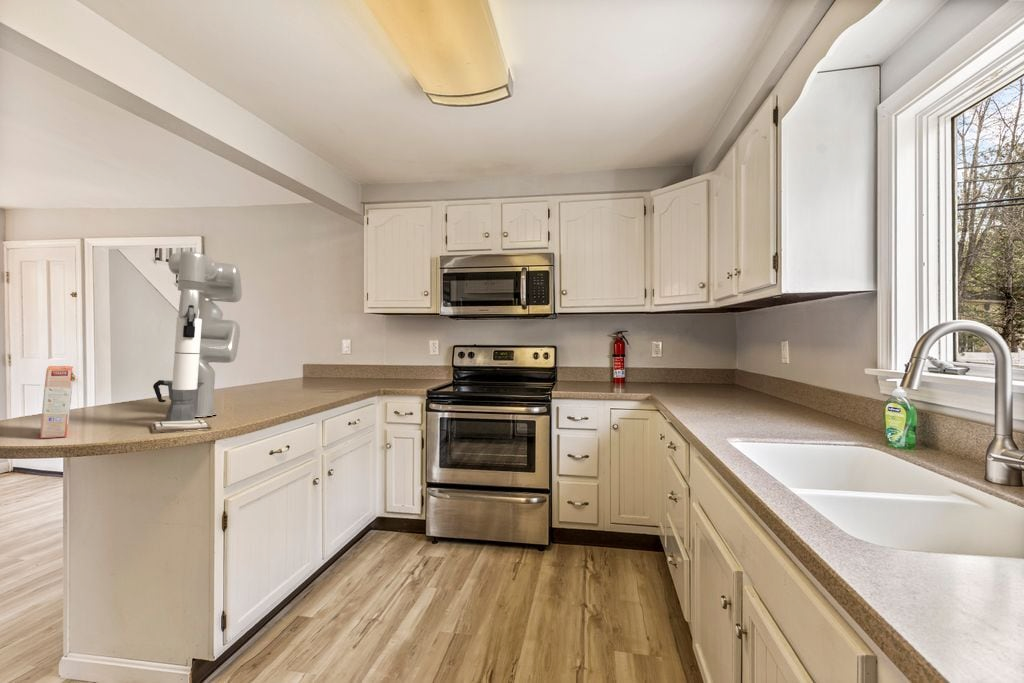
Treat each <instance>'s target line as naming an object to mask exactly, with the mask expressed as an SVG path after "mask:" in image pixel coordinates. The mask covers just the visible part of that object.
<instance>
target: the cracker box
mask: <svg viewBox="0 0 1024 683" xmlns="http://www.w3.org/2000/svg"><path fill="white" fill-rule="evenodd" d="M45 371H46V372H45V380H44V389H43V400H42V409H41V410H42V412H41V420H40V430H39V431H40V433H39V439H42V438H44V439H58V438H57V437H62V438H67V435H68V428H69V427H68V426H69V419H70V411H71V402H72V395H73V394H72V393H73V383H74V367H73V366H69V365H48V367H47V368H46V370H45Z"/></svg>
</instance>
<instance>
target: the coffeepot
mask: <svg viewBox="0 0 1024 683" xmlns="http://www.w3.org/2000/svg"><path fill="white" fill-rule="evenodd" d="M172 381H173V380H164V379H163V380H162V379H159V380H157V381H156V382H155V383H154V384H153V385H152V387H153V390H154V393H155V396H156V398H157V402H158V403H166V401H167V400H166V399H163V398H162V393H161V388H160V386H166V387H168V388H167V391H168V398H169V400H170V404H169V405H168V408H167V413H166V415H165V419H164V421H183V420H193V419H195V420H196V418H195V414H194V407H193V404H192V400H193V399H194V397H195V393H196V392H197V390H198V389H199V388H200V386H201V385H202V384H204V383H203V382H198V383H197V389H194V390H174V389H172Z"/></svg>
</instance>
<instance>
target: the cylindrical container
mask: <svg viewBox="0 0 1024 683" xmlns="http://www.w3.org/2000/svg"><path fill="white" fill-rule="evenodd" d="M175 325H176V326H175V339H174V340H175V341H174V342H175V343H174V354H173V355H174V356H173V368H172V380H171V381H172V389H174V390H194V389H197V383H198V369H199V353H200V340H201V325H202V319H198V317H197V318H196V319H195V336H194V338H189V337H183V328H184V326H185V317H182V318H180V317H178V316H177V317H176V324H175Z"/></svg>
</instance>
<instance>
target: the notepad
mask: <svg viewBox="0 0 1024 683" xmlns="http://www.w3.org/2000/svg"><path fill="white" fill-rule="evenodd" d="M150 428H151V429H152V430H151V434H152V433H153V434H161V433H160V432H170V433H174V432H173V431H184V430H198V429H211V430H212V426H211V425H210V424H209V423H208V422H207V421H206V420H204V419H195V420H183V421H165V420H164V421H154V423H150Z"/></svg>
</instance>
